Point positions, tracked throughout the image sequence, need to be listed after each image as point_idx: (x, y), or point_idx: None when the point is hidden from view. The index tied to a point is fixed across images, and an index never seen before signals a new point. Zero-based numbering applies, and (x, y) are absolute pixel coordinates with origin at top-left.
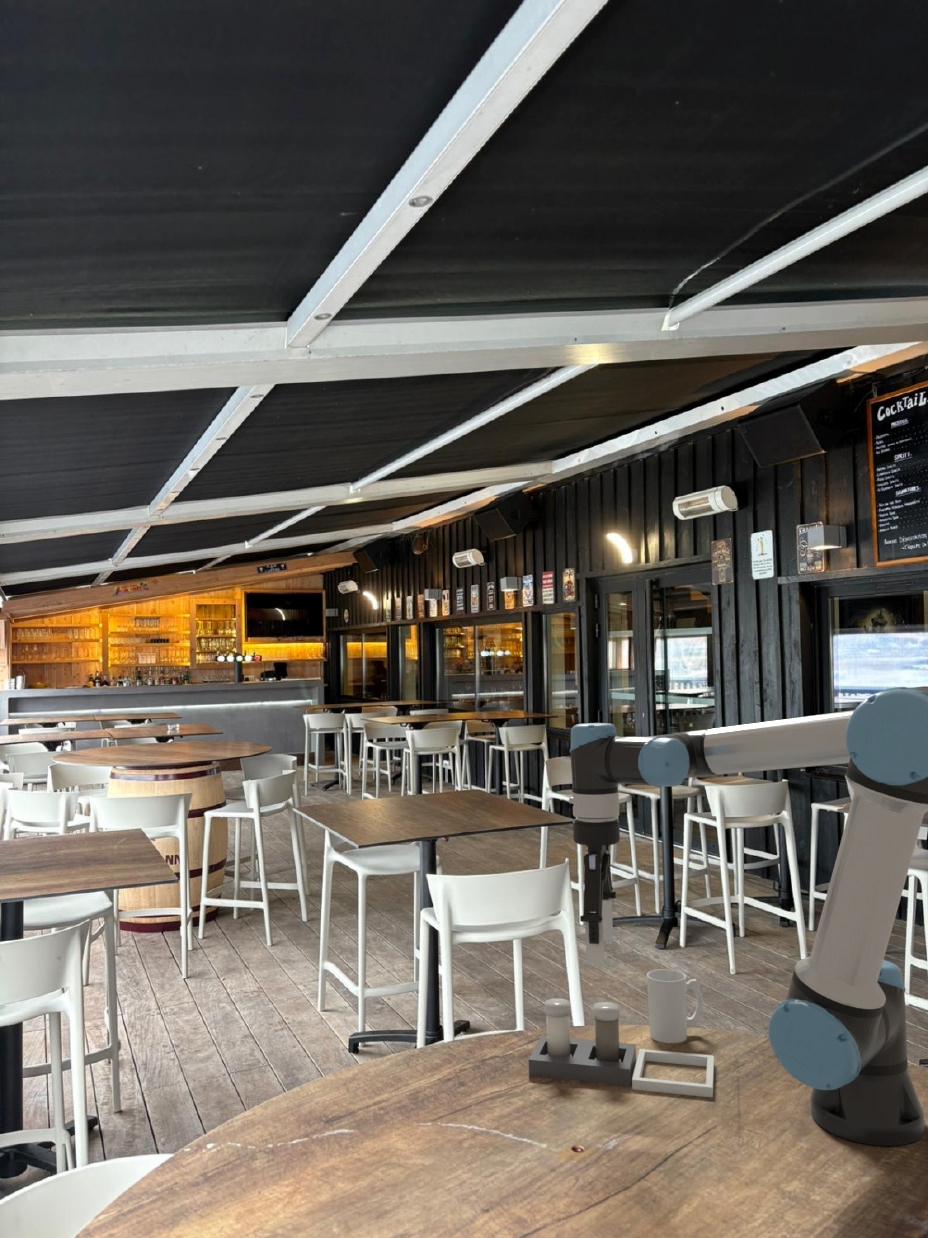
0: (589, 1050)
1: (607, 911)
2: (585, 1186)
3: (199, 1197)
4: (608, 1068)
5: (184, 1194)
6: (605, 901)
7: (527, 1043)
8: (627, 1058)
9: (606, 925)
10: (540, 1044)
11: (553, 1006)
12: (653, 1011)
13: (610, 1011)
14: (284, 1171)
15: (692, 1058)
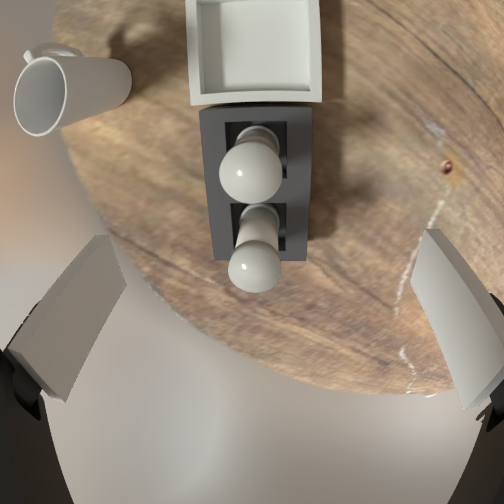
0: None
1: (57, 327)
2: (498, 159)
3: None
4: (311, 142)
5: None
6: (40, 371)
7: (175, 266)
8: (267, 114)
9: (89, 288)
10: None
11: (277, 276)
12: (97, 105)
13: (278, 161)
14: None
15: (197, 21)
